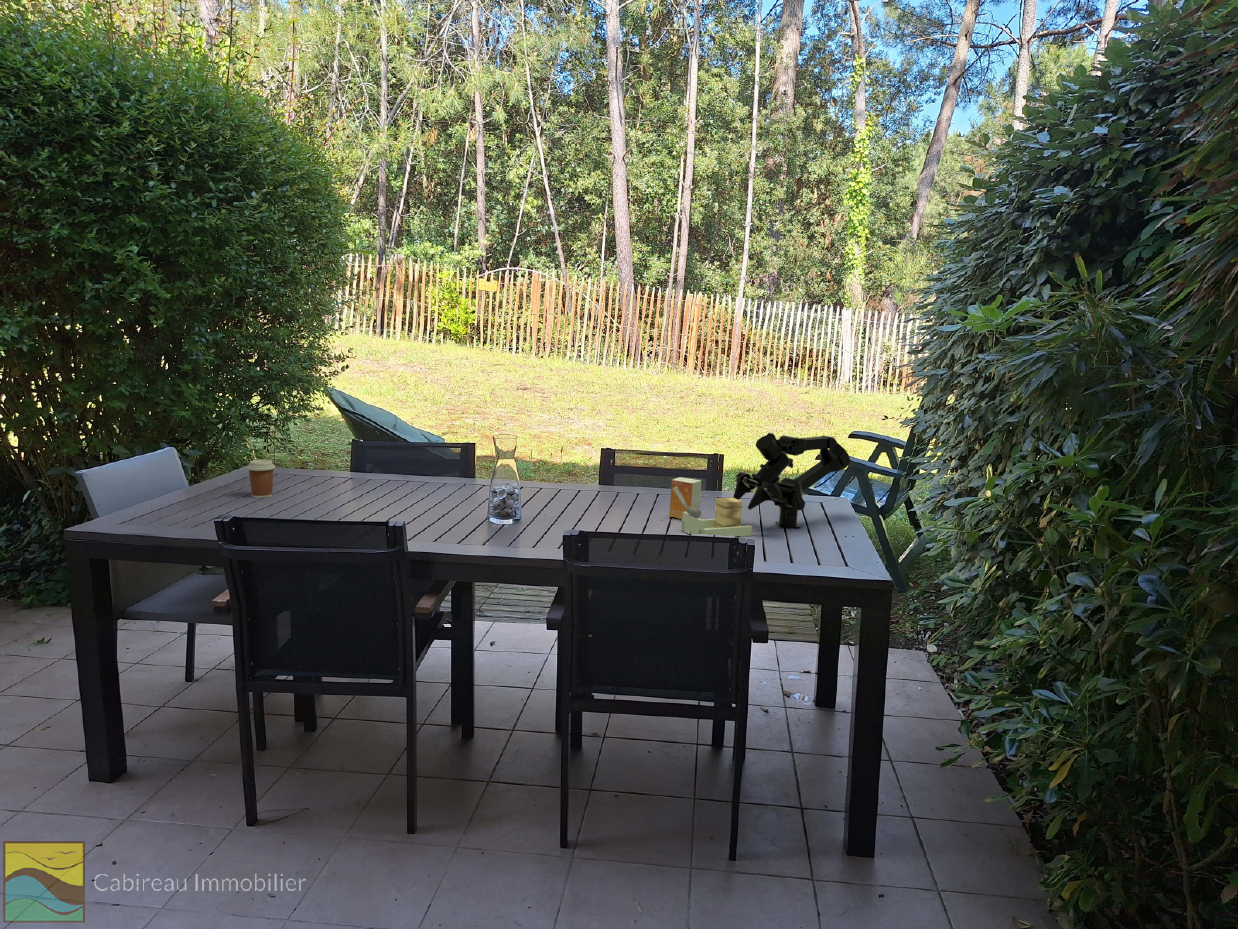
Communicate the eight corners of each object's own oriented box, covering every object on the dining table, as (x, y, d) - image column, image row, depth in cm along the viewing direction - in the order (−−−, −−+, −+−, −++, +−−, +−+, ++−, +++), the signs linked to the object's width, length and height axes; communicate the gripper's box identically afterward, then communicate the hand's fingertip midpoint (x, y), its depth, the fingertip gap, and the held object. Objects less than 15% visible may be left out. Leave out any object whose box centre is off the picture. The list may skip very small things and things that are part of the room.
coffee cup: (269, 499, 297) (268, 464, 295) (242, 498, 297) (241, 463, 295) (280, 493, 306) (279, 459, 304) (254, 492, 306) (253, 458, 304)
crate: (731, 526, 279) (732, 497, 277) (740, 531, 274) (742, 501, 272) (714, 528, 276) (716, 498, 275) (723, 532, 271) (725, 502, 270)
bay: (733, 526, 283) (735, 500, 281) (753, 535, 272) (755, 508, 271) (680, 530, 275) (681, 504, 273) (698, 540, 264) (699, 512, 263)
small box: (669, 518, 291) (670, 479, 288) (678, 514, 296) (680, 476, 294) (690, 522, 286) (692, 482, 284) (699, 518, 292) (702, 480, 289)
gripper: (804, 491, 273) (771, 529, 270) (770, 479, 289) (740, 514, 287) (784, 467, 268) (751, 505, 266) (751, 457, 285) (720, 492, 283)
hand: (740, 505), depth 275 cm, fingers open, 9 cm apart
